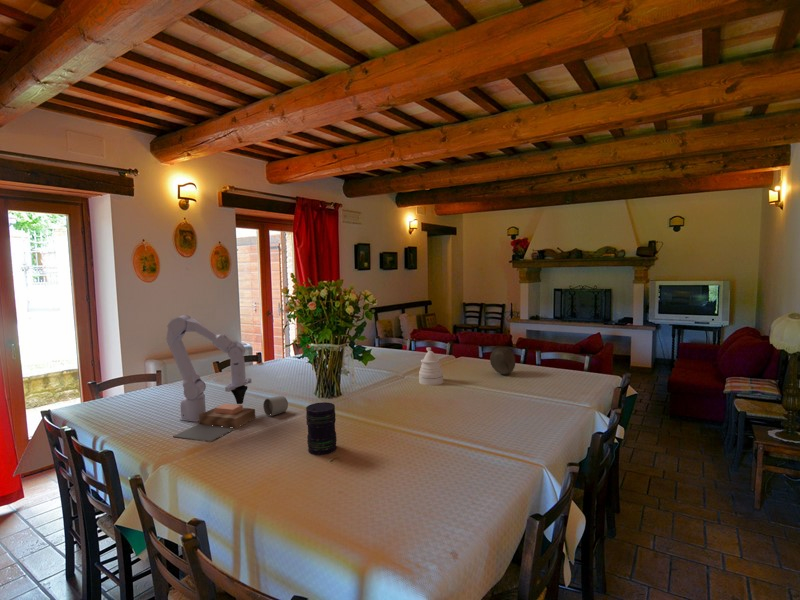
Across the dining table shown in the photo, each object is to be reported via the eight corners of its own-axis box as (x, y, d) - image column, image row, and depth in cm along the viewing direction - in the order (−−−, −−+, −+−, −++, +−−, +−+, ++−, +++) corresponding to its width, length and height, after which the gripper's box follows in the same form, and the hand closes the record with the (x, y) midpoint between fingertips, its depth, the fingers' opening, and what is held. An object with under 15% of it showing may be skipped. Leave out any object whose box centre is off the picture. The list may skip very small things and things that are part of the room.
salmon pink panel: (214, 412, 180) (214, 407, 180) (225, 408, 185) (224, 403, 185) (233, 414, 177) (232, 409, 177) (242, 409, 183) (242, 404, 182)
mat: (172, 437, 165) (172, 436, 165) (198, 425, 177) (198, 424, 177) (211, 441, 159) (211, 440, 159) (235, 429, 172) (235, 428, 172)
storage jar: (324, 441, 157) (322, 400, 156) (343, 447, 151) (341, 405, 149) (301, 450, 149) (299, 408, 148) (320, 458, 143) (318, 413, 142)
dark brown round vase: (519, 372, 246) (518, 346, 245) (511, 378, 234) (510, 350, 233) (494, 370, 253) (494, 344, 252) (486, 375, 242) (485, 348, 240)
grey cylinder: (289, 412, 189) (288, 395, 189) (273, 418, 183) (272, 400, 182) (275, 408, 196) (274, 391, 195) (259, 413, 190) (258, 396, 189)
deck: (199, 424, 178) (198, 415, 177) (220, 414, 189) (219, 405, 189) (236, 428, 172) (235, 418, 172) (255, 418, 183) (254, 408, 183)
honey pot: (414, 380, 235) (414, 347, 234) (435, 377, 241) (434, 345, 239) (426, 386, 224) (425, 351, 222) (447, 383, 229) (447, 349, 228)
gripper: (234, 377, 179) (236, 409, 180) (256, 369, 192) (258, 399, 193) (220, 376, 181) (222, 408, 182) (243, 368, 195) (244, 398, 196)
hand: (239, 403), depth 188 cm, fingers closed
